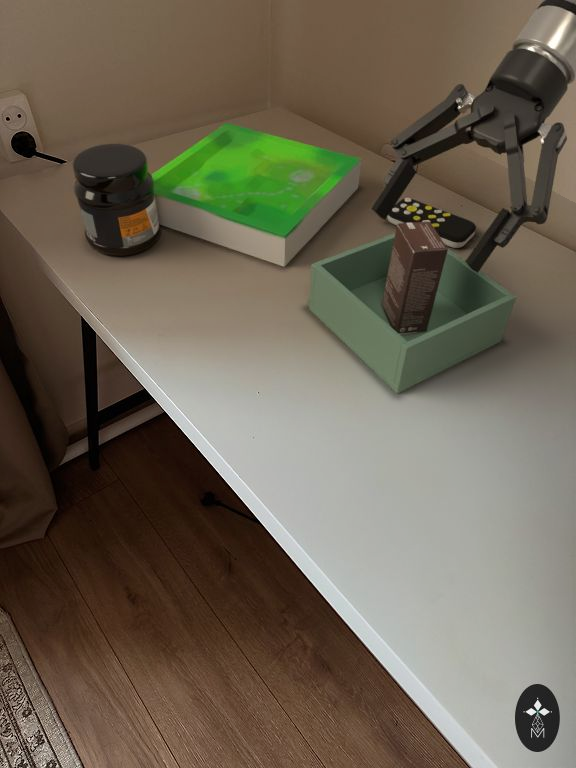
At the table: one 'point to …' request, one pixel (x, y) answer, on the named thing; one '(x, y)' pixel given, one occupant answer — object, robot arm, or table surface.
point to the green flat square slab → (254, 191)
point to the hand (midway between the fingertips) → (422, 239)
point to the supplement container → (116, 199)
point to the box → (413, 277)
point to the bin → (417, 350)
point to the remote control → (434, 221)
